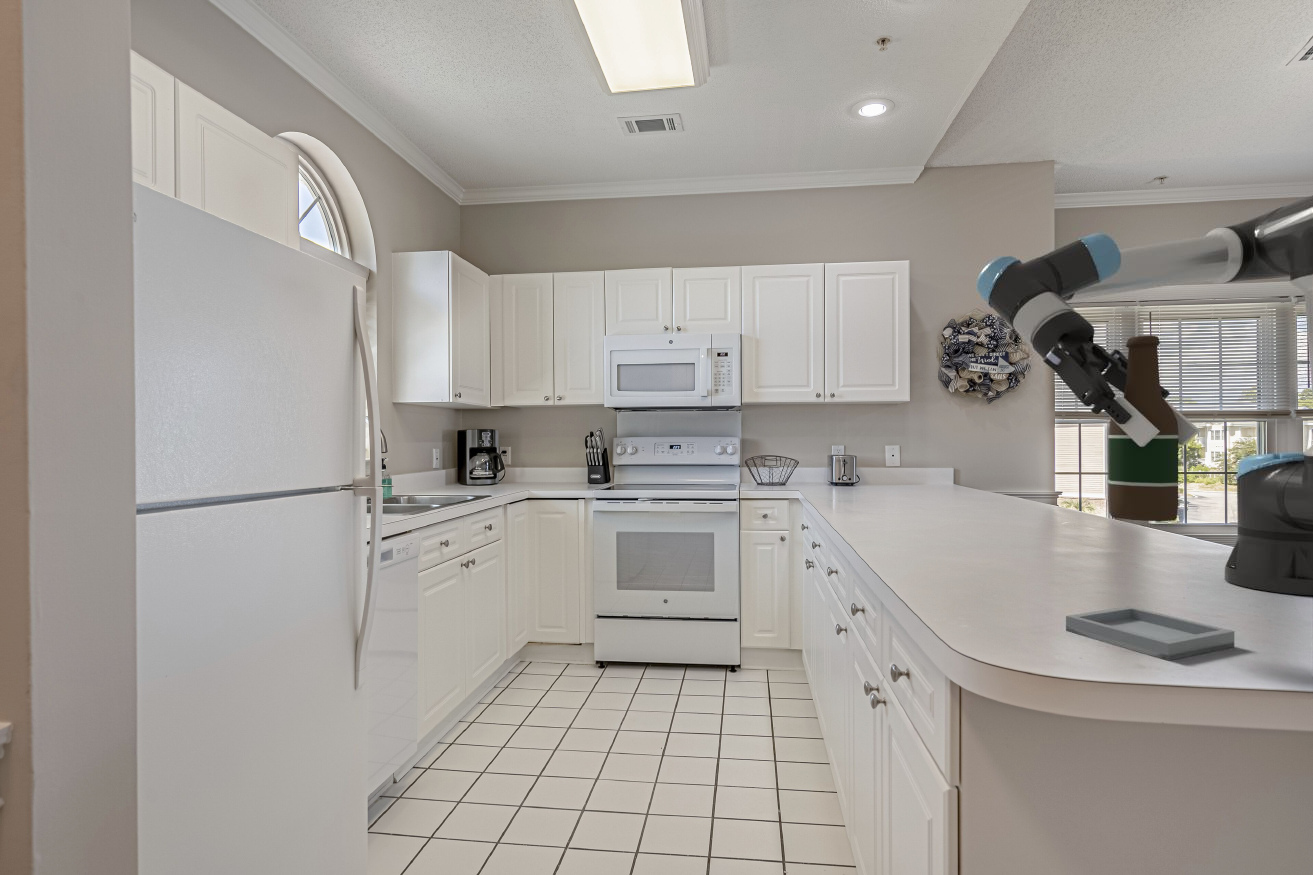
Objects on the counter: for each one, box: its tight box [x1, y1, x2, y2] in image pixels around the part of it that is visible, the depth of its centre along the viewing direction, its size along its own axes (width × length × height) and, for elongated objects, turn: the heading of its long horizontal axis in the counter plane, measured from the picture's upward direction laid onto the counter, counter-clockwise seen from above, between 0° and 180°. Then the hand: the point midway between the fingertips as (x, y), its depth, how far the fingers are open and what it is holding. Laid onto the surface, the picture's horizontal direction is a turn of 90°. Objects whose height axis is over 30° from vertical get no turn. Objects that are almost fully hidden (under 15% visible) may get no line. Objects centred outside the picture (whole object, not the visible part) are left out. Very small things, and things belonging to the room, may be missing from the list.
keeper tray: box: [1065, 606, 1235, 661], centre depth 88 cm, size 13×13×2 cm
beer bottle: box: [1107, 335, 1179, 522], centre depth 88 cm, size 8×8×24 cm
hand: (1170, 438), depth 85 cm, fingers closed on beer bottle, 7 cm apart
